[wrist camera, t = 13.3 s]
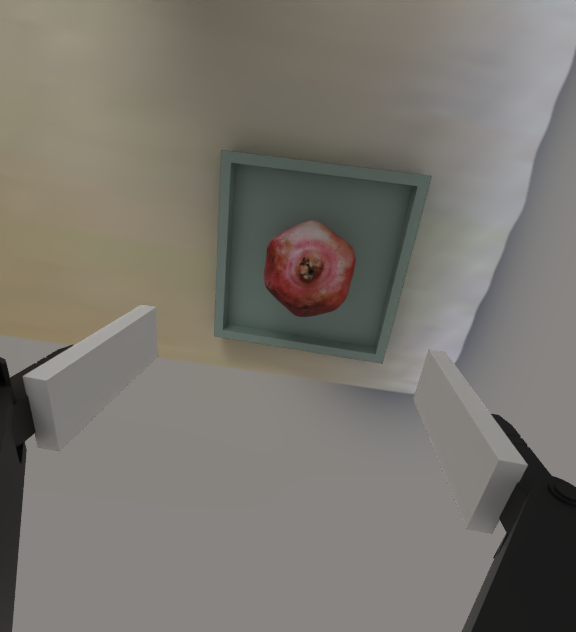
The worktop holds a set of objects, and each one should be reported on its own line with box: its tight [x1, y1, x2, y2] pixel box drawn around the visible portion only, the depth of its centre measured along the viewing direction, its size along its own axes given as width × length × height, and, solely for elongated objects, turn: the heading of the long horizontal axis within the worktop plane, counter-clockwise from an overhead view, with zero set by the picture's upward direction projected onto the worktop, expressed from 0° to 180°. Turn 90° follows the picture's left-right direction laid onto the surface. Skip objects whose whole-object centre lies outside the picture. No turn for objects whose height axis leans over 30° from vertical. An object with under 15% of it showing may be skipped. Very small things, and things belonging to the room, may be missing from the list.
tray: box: [214, 150, 431, 364], centre depth 35 cm, size 20×20×2 cm
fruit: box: [264, 220, 356, 317], centre depth 31 cm, size 9×10×10 cm
